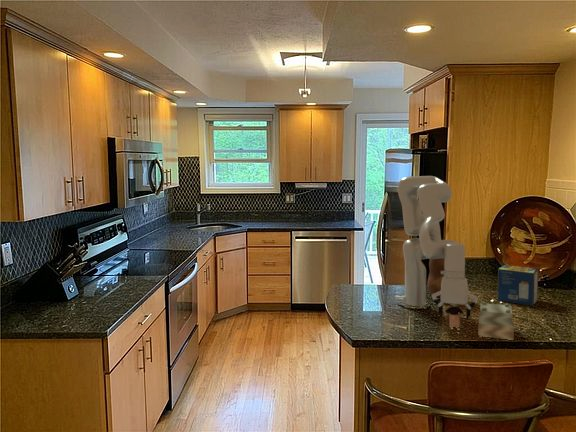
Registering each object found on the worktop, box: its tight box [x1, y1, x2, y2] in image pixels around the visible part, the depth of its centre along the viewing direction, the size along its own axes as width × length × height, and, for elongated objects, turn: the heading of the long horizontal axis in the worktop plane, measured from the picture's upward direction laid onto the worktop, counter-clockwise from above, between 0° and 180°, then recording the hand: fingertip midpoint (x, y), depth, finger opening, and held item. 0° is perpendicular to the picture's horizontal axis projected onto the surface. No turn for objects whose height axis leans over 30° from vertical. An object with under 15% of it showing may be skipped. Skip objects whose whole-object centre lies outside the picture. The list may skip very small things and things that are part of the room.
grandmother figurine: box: [443, 304, 466, 328], centre depth 180 cm, size 8×4×13 cm, turn 92°
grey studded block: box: [477, 301, 515, 341], centre depth 174 cm, size 12×12×11 cm
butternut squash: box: [426, 259, 445, 300], centre depth 222 cm, size 14×13×25 cm
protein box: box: [497, 264, 539, 307], centre depth 215 cm, size 10×15×16 cm
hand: (454, 317), depth 179 cm, fingers open, 9 cm apart
